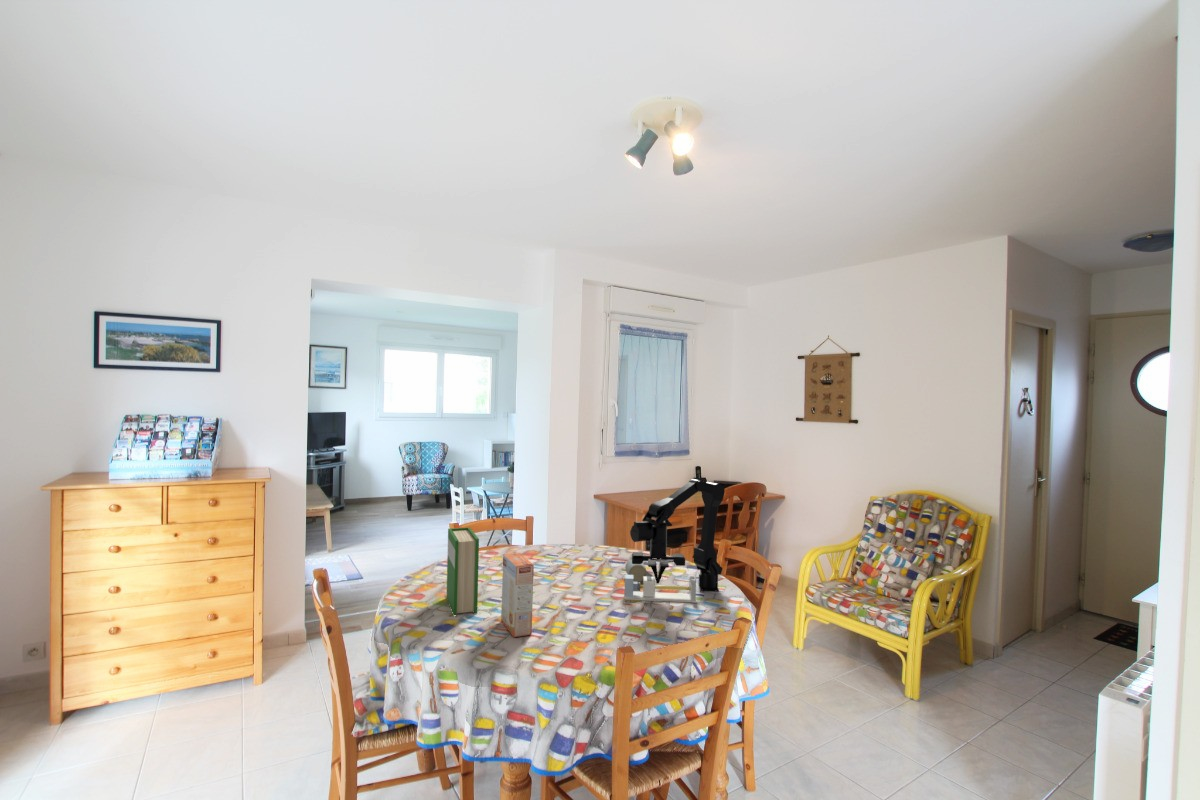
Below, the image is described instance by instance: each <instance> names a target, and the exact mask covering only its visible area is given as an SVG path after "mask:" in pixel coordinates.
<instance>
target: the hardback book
mask: <svg viewBox="0 0 1200 800" xmlns="http://www.w3.org/2000/svg"><path fill="white" fill-rule="evenodd" d="M479 543H480V538H479V537H478V536H477V535H476V533H475V532H474V531H473V529H471V527H469V526H467V527H466V526H465V527H455V528H454V527H453V528H447V560H446V561H447V563H446V565H447V568H446V572H447V573H446V600H447V599H448V600H447V603H448V602H449V603H448V605H449V604H450V606H449V608H450V607H451V608H450V610H451V609H452V611H451V613H452V612H453V614H454V615H457V614H462V613H472V612H473V611H474V612H473V614H474V613H477V614H478V603H479V602H478V601H479V600H478V598H479V558H480V557H479V553H480V550H479V549H480V548H479V547H480V544H479ZM453 614H452V615H453ZM457 616H458V615H457Z"/></svg>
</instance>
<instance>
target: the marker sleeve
mask: <svg viewBox="0 0 1200 800" xmlns="http://www.w3.org/2000/svg"><path fill="white" fill-rule="evenodd" d="M642 585H644V589H643V588H642V592H643V596H650V597H655V592H656V589H655V585H656V579H655V576H653V577H649V576H643V581H642Z"/></svg>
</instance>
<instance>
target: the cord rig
mask: <svg viewBox="0 0 1200 800" xmlns="http://www.w3.org/2000/svg"><path fill="white" fill-rule="evenodd" d="M641 589H642V590H643V589H644V585H643V584H641V582H634V581H633V575H628V574H624V600H627V601H648V602H649V601H650V602H652V601H653V602H671V603H672V602H677V603H697V580H696V579H695V575H689V586H683V585H681V586H680V585H679V586H677V585H656V584H655V590H668V591H669V590H673V591H674V590H675V591H688V593H685V592H684V593H679V592H657V591H655V597H650V596H643V591H641Z"/></svg>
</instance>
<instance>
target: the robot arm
mask: <svg viewBox="0 0 1200 800" xmlns="http://www.w3.org/2000/svg"><path fill="white" fill-rule="evenodd" d="M725 491H726V490H725V487H724V486H723V485H722V484H721V483H717V482H711V481H706V482H705V481H702V480H701V479H698V478H692V479H689V481H688V482H687V483H685V484H684V485H682V486H681V487H680V488H679V489H677V490H676V491H675V492H673V493H672V494H670V495H669V496H668V497H666V498H663V499H658V500H656V501H654V502H653V503H651V504H650V505H649V506H648V510H647V512H646V513H645V515H644V517H643V518H642V519H641V520H642V521H634V522H633V525H632V526H631V528H630V531H629V533H630V538H631V540H632V541H633V542H634V543H637V542H645V552H649V555H644V553H643V551H641V552H640V551H637V552H635V551H634V552H632V553H631V558H632V564H642V563H643V564H644V562H647V567H649V568H651V570H652V572H653V573H652V574H653V577H655V584H660V582H661V579H662V576H663V574H664V572H665V570H666V569H667V568H670V565H669V563H673V564H674V565H676V566H677V567H678V566H681V567H685V566H686V557H685V555H684V554H683V553H672V555H668V556H667V545H668V544H667V543H668V540H667V538H668V537H667V536H668V527H672V526H673V523H671V522H670V520H669V519H670V518H671V517H672V516H673V514H674V513H675V510H676V509H677V508H678V507H679V506H680V505H683V503H685V502H686V501H688V500H689V499H690V498H691V497H694V495H696V494H697V493H698V492H700V493H701V499H702V502H703V506H704V509H703V516H702V518H703V519H702V524H701V525H702V526H701V536H700V542H699V544H698V546H697V547H694V548H693V553H692V554H693V555H692V559H693V562H694V564H695V566H696V569H697V570H698V571H699V574H698V583H697V584H698V587H699V588H700V591H705V592H706V591H710V592H719V588H718V587H719V575H721V574H722V572H723V567H722V566H721V565H720V564H719V562H717V561H718V560H717V557H718V556H717V551H716V549H715V536H716V527H717V519H718V512H719V511H718V510H719V506H720V505H721V504H722V502H723V500H724V497H725ZM657 562H659V564H658V565H659V566H658V567H657Z"/></svg>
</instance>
